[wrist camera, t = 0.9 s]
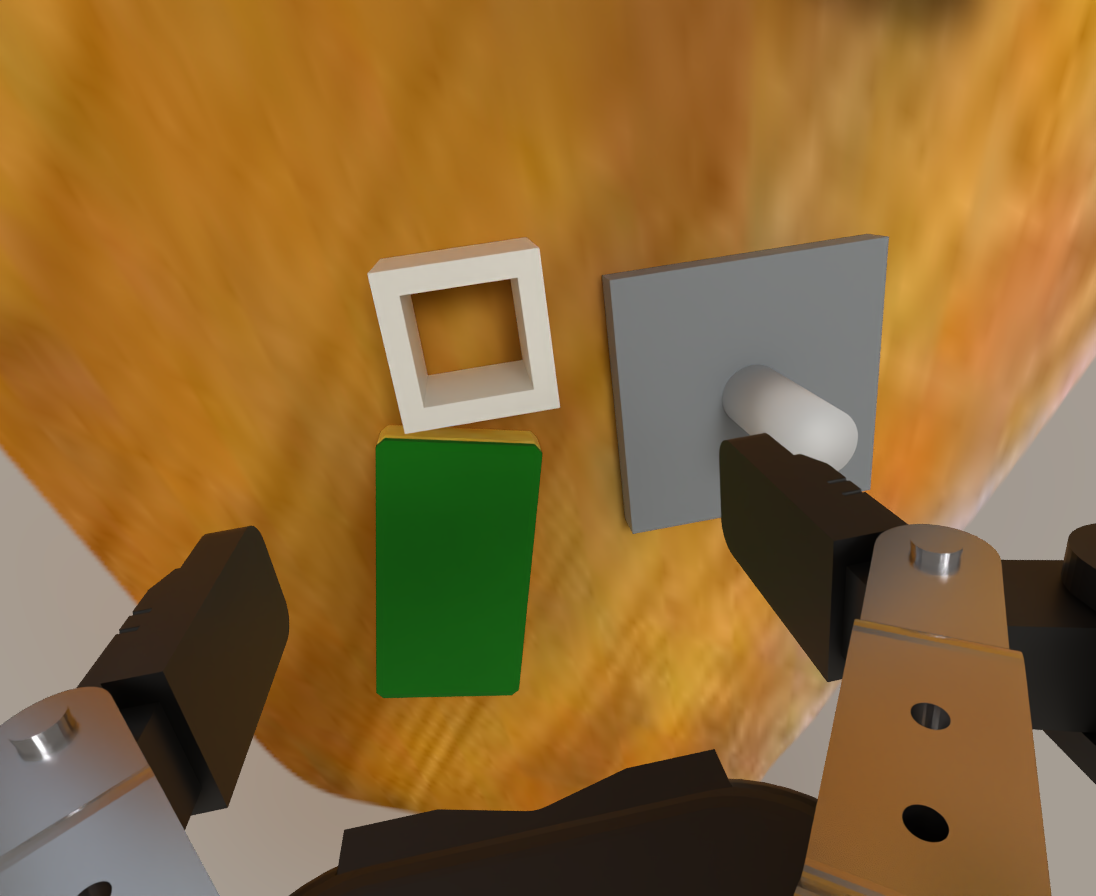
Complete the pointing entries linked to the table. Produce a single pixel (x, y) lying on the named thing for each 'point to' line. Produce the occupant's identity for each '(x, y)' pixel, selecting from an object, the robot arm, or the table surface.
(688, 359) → the post stand
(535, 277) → the ring
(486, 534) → the dish sponge
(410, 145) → the table surface
